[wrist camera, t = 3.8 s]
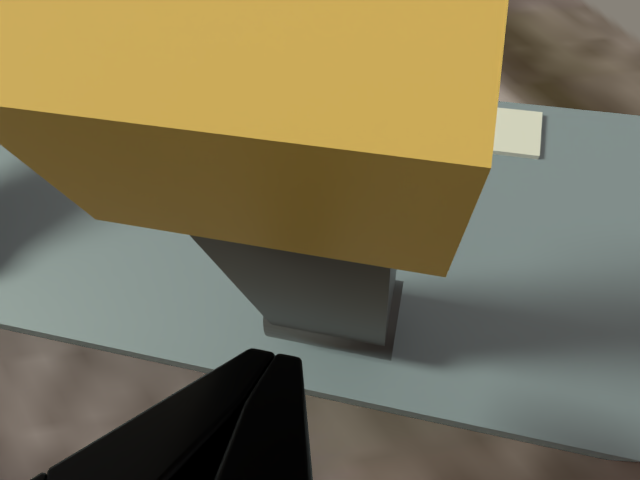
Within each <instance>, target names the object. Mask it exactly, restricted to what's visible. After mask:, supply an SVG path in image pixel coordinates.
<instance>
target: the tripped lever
mask: <svg viewBox="0 0 640 480" xmlns="http://www.w3.org/2000/svg"><path fill="white" fill-rule="evenodd" d="M507 10H508V0H0V145H2V146H3V147H4V148H5V149H7V150H8V151H9V152H10V153H12V154H13V155H14V156H15V157H17V158H18V159H19V160H21V161H22V162H23V163H24V164H26V165H27V166H28V167H29V168H31V169H32V170H33V171H35V172H36V173H37V174H38V175H40V176H41V177H42V178H43V179H45V180H46V181H47V182H49V183H50V184H51V185H52V186H54V187H55V188H56V189H57V190H59V191H60V192H61V193H63V194H64V195H65V196H66V197H68V198H69V199H70V200H71V201H73V202H74V203H75V204H77V205H78V206H79V207H80V208H82V209H83V210H84V211H85V212H87V213H88V214H89V215H90V216H92V217H93V218H94V219H96V220H102V221H108V222H114V223H120V224H126V225H132V226H138V227H144V228H150V229H156V230H162V231H168V232H174V233H180V234H186V235H190V236H191V237H192V239H193V240H194V241H195V242H196V243H197V244H198V245H199V246H200V247H201V248H202V249H203V251H204V252H205V253H206V254H207V255H208V256H209V257H210V258H211V259H212V260H213V262H214V263H215V264H216V265H217V266H218V267H219V268H220V269H221V270H222V271H223V273H224V274H225V275H226V276H227V277H228V278H229V279H230V280H231V281H232V282H233V283H234V285H235V286H236V287H237V288H238V289H239V290H240V291H241V292H242V293H243V294H244V296H245V297H246V298H247V299H248V300H249V301H250V302H251V303H252V304H253V305H254V306H255V308H256V309H257V310H258V311H259V312H260V313H261V314H262V315H263V328H264V333H265V335H266V336H268V337H273V338H278V339H283V340H288V341H293V342H298V343H304V344H309V345H314V346H319V347H324V348H329V349H334V350H339V351H344V352H349V353H354V354H359V355H364V356H369V357H374V358H379V359H384V360H389V361H391V358H392V352H393V345H394V339H395V333H396V327H397V320H398V314H399V308H400V301H401V295H402V289H403V282H404V281H399V280H395V279H396V270H397V269H398V270H404V271H410V272H416V273H422V274H428V275H434V276H440V277H446V276H447V273H448V271H449V268H450V266H451V264H452V261H453V259H454V256H455V254H456V252H457V249H458V247H459V244H460V242H461V240H462V237H463V235H464V232H465V230H466V228H467V225H468V223H469V220H470V218H471V216H472V213H473V211H474V208H475V206H476V204H477V201H478V199H479V196H480V194H481V192H482V189H483V187H484V184H485V182H486V180H487V177H488V175H489V172H490V170H491V166H492V156H493V146H494V137H495V127H496V117H497V107H498V98H499V88H500V78H501V68H502V59H503V49H504V39H505V29H506V20H507Z"/></svg>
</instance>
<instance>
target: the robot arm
mask: <svg viewBox="0 0 640 480" xmlns="http://www.w3.org/2000/svg"><path fill="white" fill-rule="evenodd" d="M30 480H313V477H312V466H311V455H310V444H309V433H308V422H307V411H306V400H305V389H304V378H303V366H302V360H301V358H299V357H296V356H291V355H286V354H277V355H275V354H274V353H273V352H270V351H265V350H260V349H255V348H250V349H248V350H246V351H244V352H242V353H241V354H239V355H237V356H236V357H234V358H232V359H231V360H229V361H227V362H226V363H224V364H222V365H221V366H219V367H217V368H216V369H214V370H212V371H211V372H209V373H207V374H206V375H204V376H202V377H201V378H199V379H197V380H196V381H194V382H192V383H191V384H189V385H187V386H186V387H184V388H182V389H181V390H179V391H177V392H176V393H174V394H172V395H171V396H169V397H167V398H166V399H164V400H162V401H161V402H159V403H157V404H156V405H154V406H152V407H151V408H149V409H147V410H146V411H144V412H142V413H141V414H139V415H137V416H136V417H134V418H132V419H131V420H129V421H127V422H126V423H124V424H122V425H121V426H119V427H117V428H116V429H114V430H112V431H111V432H109V433H107V434H106V435H104V436H102V437H101V438H99V439H97V440H96V441H94V442H92V443H91V444H89V445H88V446H86V447H84V448H83V449H81V450H79V451H78V452H76V453H74V454H73V455H71V456H69V457H68V458H66V459H64V460H63V461H61V462H59V463H58V464H56V465H54V466H53V467H51V468H49V470H48V472H47V474H46V473H40V474H39V475H37V476H35V477H34V478H32V479H30Z"/></svg>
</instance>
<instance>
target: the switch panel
mask: <svg viewBox="0 0 640 480" xmlns="http://www.w3.org/2000/svg"><path fill="white" fill-rule="evenodd" d="M395 280H399V281H404V282H403V289H402V295H401V301H400V308H399V314H398V320H397V327H396V333H395V339H394V345H393V352H392V358H391V361H389V360H384V359H379V358H374V357H369V356H364V355H359V354H354V353H349V352H344V351H339V350H334V349H329V348H324V347H319V346H314V345H309V344H304V343H298V342H293V341H288V340H283V339H278V338H273V337H268V336H266V335H265V333H264V328H263V315H262V314H261V313H260V312H259V311H258V310H257V309H256V308H255V306H254V305H253V304H252V303H251V302H250V301H249V300H248V299H247V298H246V297H245V296H244V294H243V293H242V292H241V291H240V290H239V289H238V288H237V287H236V286H235V285H234V283H233V282H232V281H231V280H230V279H229V278H228V277H227V276H226V275H225V274H224V273H223V271H222V270H221V269H220V268H219V267H218V266H217V265H216V264H215V263H214V262H213V260H212V259H211V258H210V257H209V256H208V255H207V254H206V253H205V252H204V251H203V249H202V248H201V247H200V246H199V245H198V244H197V243H196V242H195V241H194V240H193V239H192V237H191V236H190V235H186V234H180V233H174V232H168V231H162V230H156V229H150V228H144V227H138V226H132V225H126V224H120V223H114V222H108V221H102V220H96V219H94V218H93V217H92V216H90V215H89V214H88V213H87V212H85V211H84V210H83V209H82V208H80V207H79V206H78V205H77V204H75V203H74V202H73V201H71V200H70V199H69V198H68V197H66V196H65V195H64V194H63V193H61V192H60V191H59V190H57V189H56V188H55V187H54V186H52V185H51V184H50V183H49V182H47V181H46V180H45V179H43V178H42V177H41V176H40V175H38V174H37V173H36V172H35V171H33V170H32V169H31V168H29V167H28V166H27V165H26V164H24V163H23V162H22V161H21V160H19V159H18V158H17V157H15V156H14V155H13V154H12V153H10V152H9V151H8V150H7V149H5V148H4V147H3V146H2V145H0V328H1V329H5V330H10V331H14V332H19V333H24V334H28V335H33V336H38V337H42V338H47V339H51V340H56V341H61V342H65V343H70V344H75V345H79V346H84V347H88V348H93V349H98V350H102V351H107V352H111V353H116V354H121V355H125V356H130V357H135V358H139V359H144V360H148V361H153V362H158V363H162V364H167V365H171V366H176V367H181V368H185V369H190V370H195V371H199V372H204V373H209V372H211V371H212V370H214V369H216V368H217V367H219V366H221V365H222V364H224V363H226V362H227V361H229V360H231V359H232V358H234V357H236V356H237V355H239V354H241V353H242V352H244V351H246V350H248V349H250V348H255V349H260V350H265V351H270V352H273V353H274V354H275V355H277V354H286V355H291V356H296V357H299V358H301V360H302V366H303V378H304V389H305V395H310V396H315V397H319V398H324V399H328V400H333V401H338V402H342V403H347V404H352V405H356V406H361V407H365V408H370V409H375V410H379V411H384V412H389V413H393V414H398V415H402V416H407V417H412V418H416V419H421V420H425V421H430V422H435V423H439V424H444V425H449V426H453V427H458V428H462V429H467V430H472V431H476V432H481V433H485V434H490V435H495V436H499V437H504V438H509V439H513V440H518V441H522V442H527V443H532V444H536V445H541V446H545V447H550V448H555V449H559V450H564V451H569V452H573V453H578V454H582V455H587V456H592V457H596V458H601V459H606V460H617V461H629V462H640V116H637V115H627V114H618V113H608V112H598V111H588V110H578V109H569V108H559V107H549V106H539V105H530V104H520V103H510V102H500V101H498V107H497V117H496V127H495V137H494V146H493V156H492V166H491V170H490V172H489V175H488V177H487V180H486V182H485V184H484V187H483V189H482V192H481V194H480V196H479V199H478V201H477V204H476V206H475V208H474V211H473V213H472V216H471V218H470V220H469V223H468V225H467V228H466V230H465V232H464V235H463V237H462V240H461V242H460V244H459V247H458V249H457V252H456V254H455V256H454V259H453V261H452V264H451V266H450V268H449V271H448V273H447V276H446V277H440V276H434V275H428V274H422V273H416V272H410V271H404V270H398V269H397V270H396V279H395Z"/></svg>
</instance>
